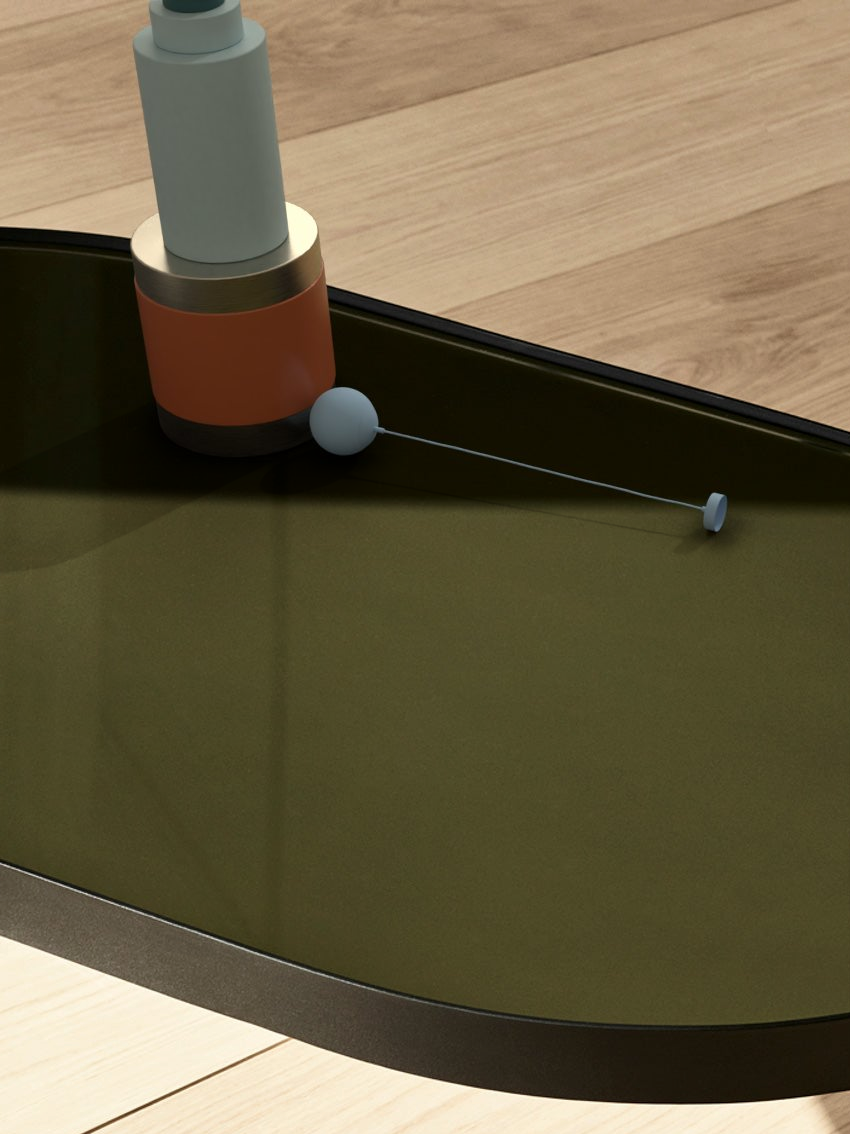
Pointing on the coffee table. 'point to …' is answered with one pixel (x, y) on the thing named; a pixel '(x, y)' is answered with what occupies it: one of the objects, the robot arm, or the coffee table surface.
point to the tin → (236, 341)
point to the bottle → (211, 130)
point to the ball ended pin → (353, 423)
